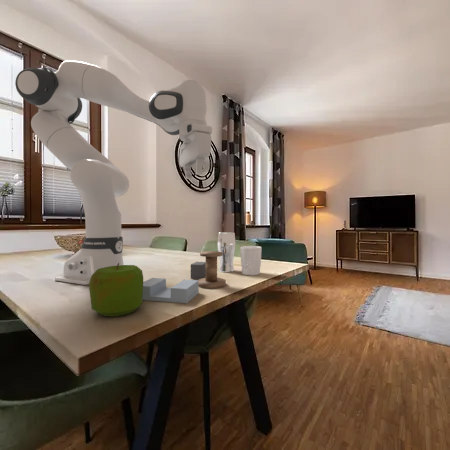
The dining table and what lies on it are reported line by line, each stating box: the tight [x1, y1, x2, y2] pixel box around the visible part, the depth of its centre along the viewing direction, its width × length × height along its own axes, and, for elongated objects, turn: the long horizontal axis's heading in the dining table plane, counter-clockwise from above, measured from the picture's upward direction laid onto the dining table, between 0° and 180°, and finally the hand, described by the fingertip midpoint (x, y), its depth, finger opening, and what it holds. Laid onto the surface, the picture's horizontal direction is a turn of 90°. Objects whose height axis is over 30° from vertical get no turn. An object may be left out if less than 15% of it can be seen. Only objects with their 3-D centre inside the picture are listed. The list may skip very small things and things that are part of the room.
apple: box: [88, 263, 144, 318], centre depth 58 cm, size 11×11×11 cm
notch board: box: [142, 277, 200, 304], centre depth 69 cm, size 14×9×4 cm, turn 77°
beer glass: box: [217, 231, 236, 273], centre depth 103 cm, size 7×7×15 cm
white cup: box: [239, 245, 262, 276], centre depth 98 cm, size 8×8×10 cm
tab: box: [190, 261, 206, 280], centre depth 92 cm, size 4×6×5 cm, turn 167°
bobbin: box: [197, 250, 227, 290], centre depth 81 cm, size 9×9×10 cm
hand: (193, 176), depth 85 cm, fingers open, 8 cm apart
